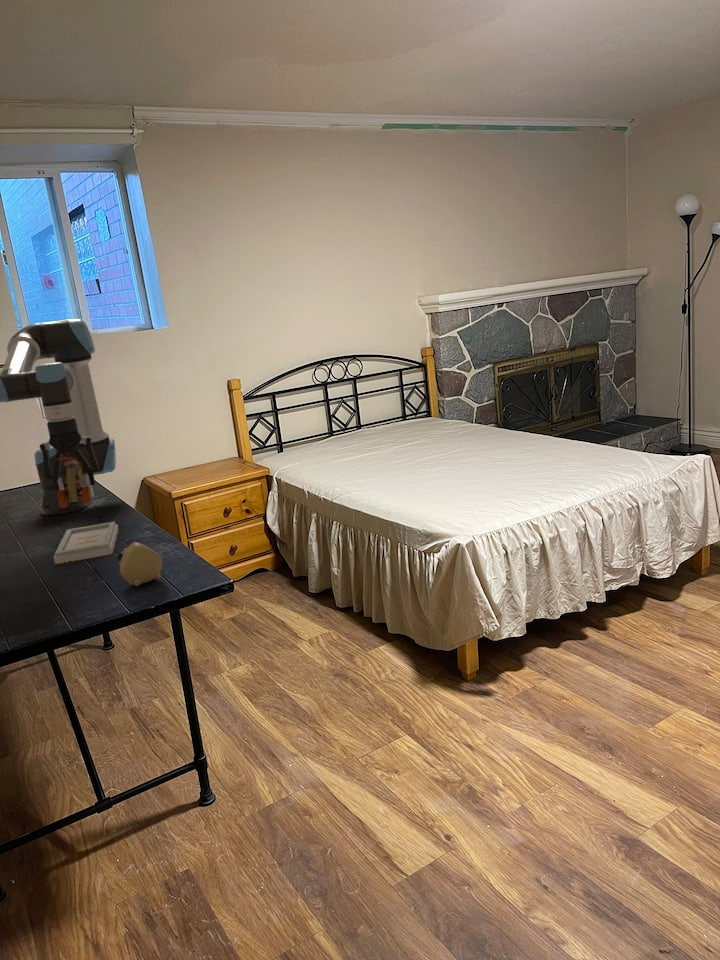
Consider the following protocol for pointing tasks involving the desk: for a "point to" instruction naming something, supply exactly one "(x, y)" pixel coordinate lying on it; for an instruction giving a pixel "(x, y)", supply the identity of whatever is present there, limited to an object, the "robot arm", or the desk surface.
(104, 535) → the plate
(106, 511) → the desk surface
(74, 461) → the toy helicopter
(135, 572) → the toy pig
